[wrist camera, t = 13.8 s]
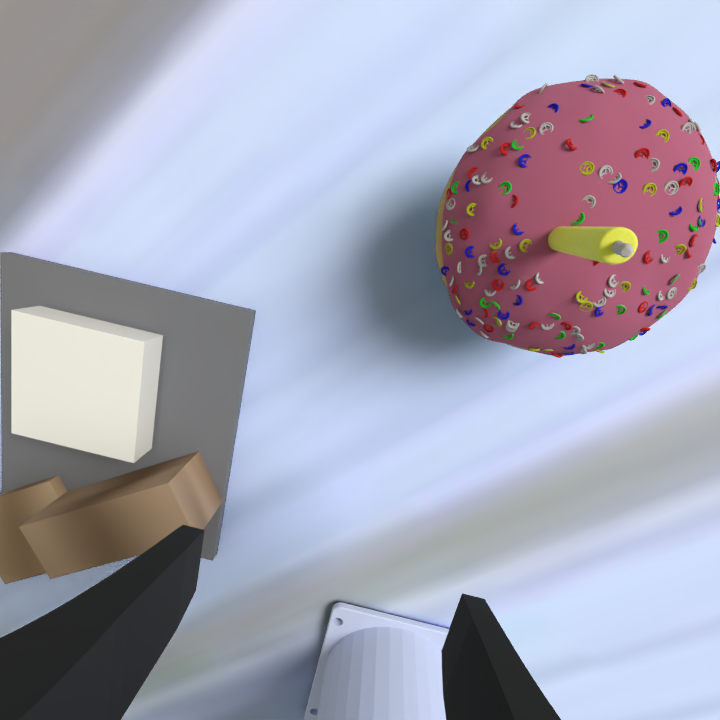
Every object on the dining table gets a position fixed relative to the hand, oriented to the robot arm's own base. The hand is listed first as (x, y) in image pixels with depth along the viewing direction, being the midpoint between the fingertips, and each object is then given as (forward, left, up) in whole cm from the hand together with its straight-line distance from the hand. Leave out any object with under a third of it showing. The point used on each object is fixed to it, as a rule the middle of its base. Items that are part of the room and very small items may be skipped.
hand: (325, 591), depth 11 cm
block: (0, +10, -8) cm, 13 cm away
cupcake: (+11, -5, -10) cm, 16 cm away
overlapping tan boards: (-8, +13, -9) cm, 18 cm away
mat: (-2, +12, -10) cm, 16 cm away
